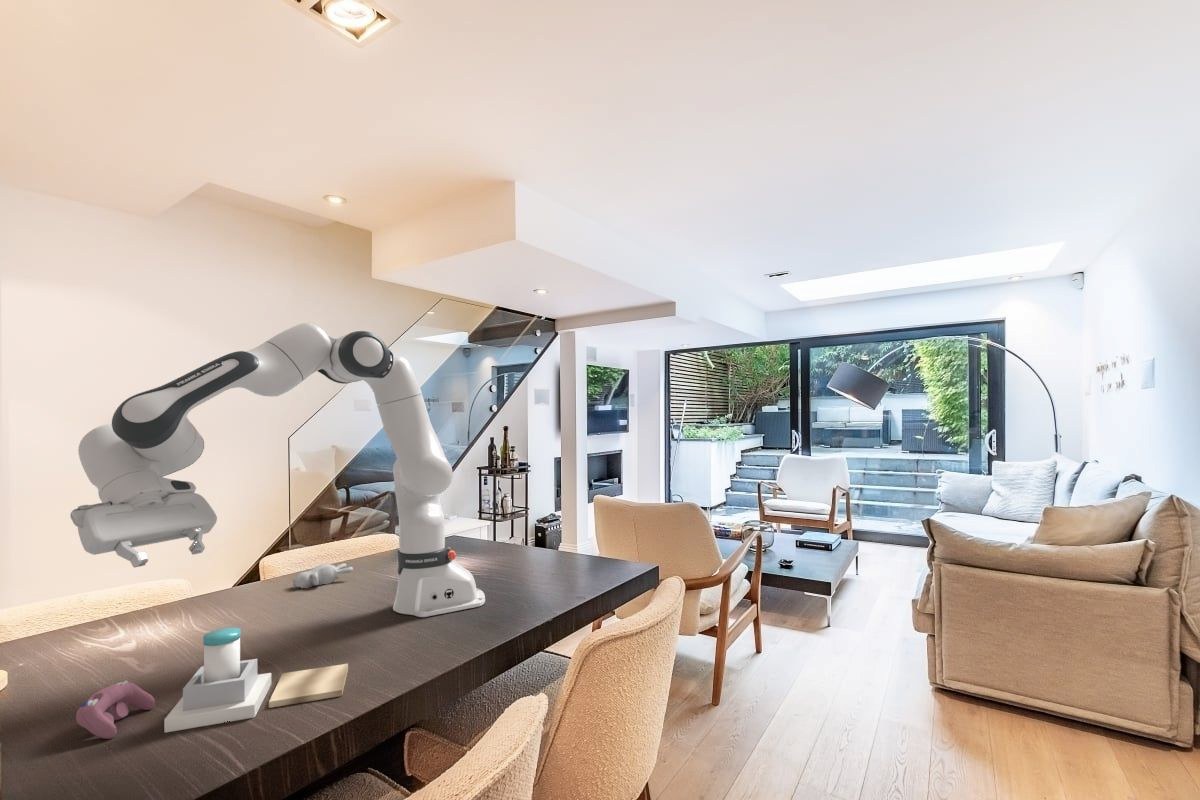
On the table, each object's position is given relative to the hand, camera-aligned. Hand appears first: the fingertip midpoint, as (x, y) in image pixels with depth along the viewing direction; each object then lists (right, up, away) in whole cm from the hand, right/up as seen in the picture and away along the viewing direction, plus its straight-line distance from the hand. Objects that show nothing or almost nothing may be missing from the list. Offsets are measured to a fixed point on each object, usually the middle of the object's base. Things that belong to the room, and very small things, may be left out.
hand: (171, 557), depth 98 cm
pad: (+24, -23, +1) cm, 33 cm away
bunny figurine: (-6, -26, +65) cm, 70 cm away
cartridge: (+12, -21, -5) cm, 25 cm away
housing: (+12, -23, -5) cm, 27 cm away
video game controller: (-1, -24, -10) cm, 26 cm away
